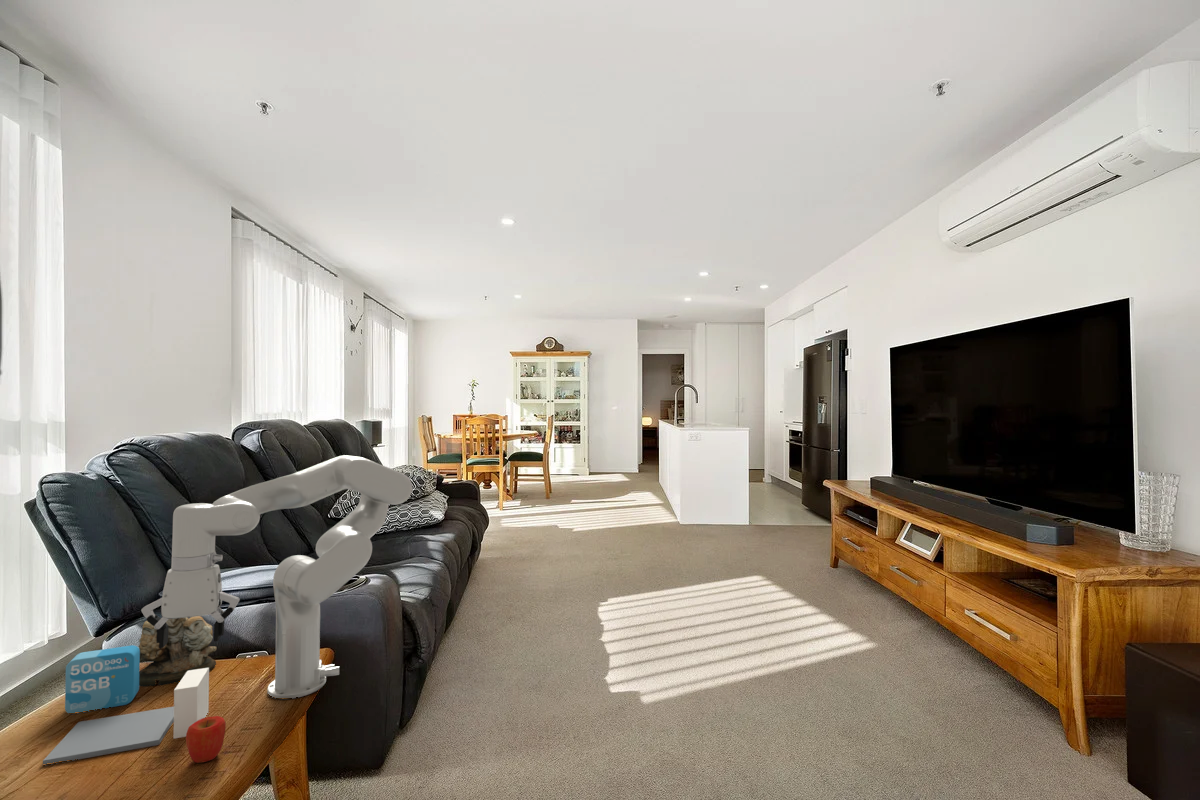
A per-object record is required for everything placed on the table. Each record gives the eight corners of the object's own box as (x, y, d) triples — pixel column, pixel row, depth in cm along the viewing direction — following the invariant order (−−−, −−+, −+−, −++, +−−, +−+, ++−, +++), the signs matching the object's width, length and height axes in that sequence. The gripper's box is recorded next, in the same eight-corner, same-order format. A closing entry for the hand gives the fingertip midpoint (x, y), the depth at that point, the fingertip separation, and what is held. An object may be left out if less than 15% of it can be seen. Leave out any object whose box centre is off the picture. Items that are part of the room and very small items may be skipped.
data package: (64, 716, 123) (65, 661, 123) (72, 706, 127) (73, 653, 127) (133, 703, 128) (134, 651, 128) (139, 694, 132) (140, 643, 132)
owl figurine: (124, 694, 132) (124, 622, 133) (131, 674, 142) (131, 607, 143) (216, 674, 142) (216, 606, 143) (216, 657, 152) (217, 594, 153)
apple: (189, 774, 104) (190, 733, 104) (182, 759, 108) (182, 720, 108) (229, 758, 108) (229, 720, 108) (220, 745, 113) (221, 708, 113)
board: (180, 709, 126) (180, 705, 126) (159, 744, 113) (159, 739, 113) (78, 726, 119) (78, 721, 119) (42, 765, 106) (42, 760, 106)
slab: (208, 712, 125) (209, 667, 125) (196, 734, 116) (197, 686, 117) (186, 716, 123) (187, 670, 123) (173, 738, 115) (174, 689, 115)
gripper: (244, 554, 127) (241, 630, 127) (150, 561, 120) (147, 641, 120) (236, 563, 120) (234, 643, 120) (136, 570, 113) (133, 655, 113)
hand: (190, 642), depth 120 cm, fingers open, 9 cm apart
